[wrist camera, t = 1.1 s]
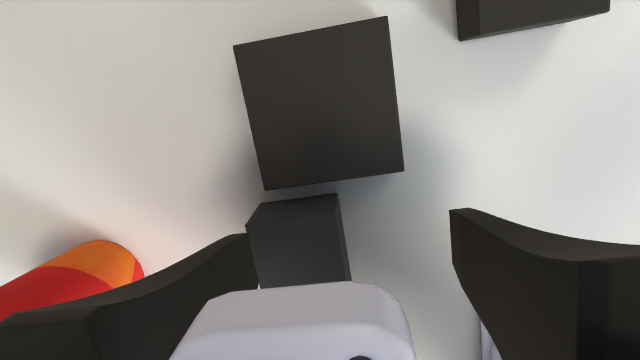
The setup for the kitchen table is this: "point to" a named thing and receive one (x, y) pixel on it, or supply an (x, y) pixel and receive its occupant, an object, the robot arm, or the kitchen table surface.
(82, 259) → the paper cup
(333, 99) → the base pad
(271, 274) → the black rectangular block
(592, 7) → the dark grey rectangular block
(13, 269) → the kitchen table surface
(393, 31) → the kitchen table surface
